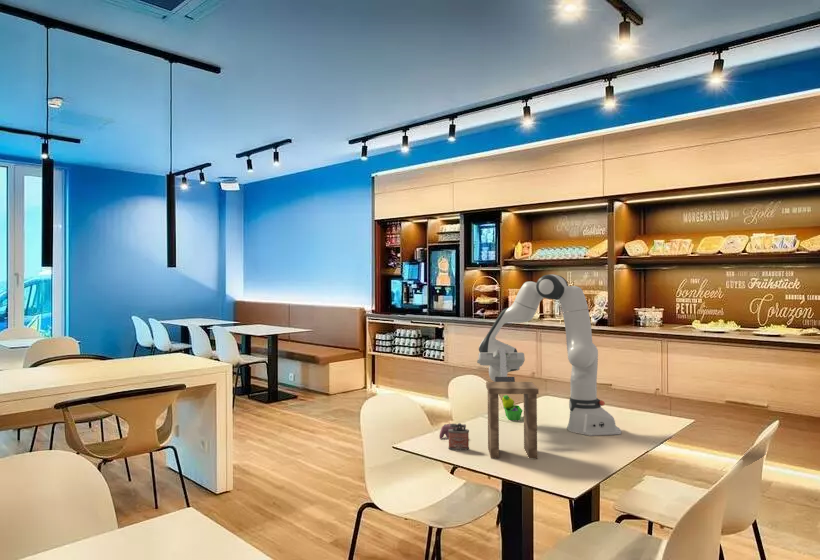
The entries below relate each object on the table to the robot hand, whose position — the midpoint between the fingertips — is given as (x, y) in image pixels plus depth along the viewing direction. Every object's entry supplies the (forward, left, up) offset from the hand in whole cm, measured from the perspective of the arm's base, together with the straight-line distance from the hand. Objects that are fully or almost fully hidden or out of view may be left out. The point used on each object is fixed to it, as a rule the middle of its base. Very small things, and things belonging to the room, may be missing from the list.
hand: (502, 351), depth 235 cm
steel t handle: (0, +1, -8) cm, 8 cm away
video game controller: (+22, +8, -36) cm, 43 cm away
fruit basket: (-7, -27, -36) cm, 46 cm away
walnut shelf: (0, +28, -35) cm, 45 cm away
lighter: (+20, +23, -36) cm, 47 cm away
